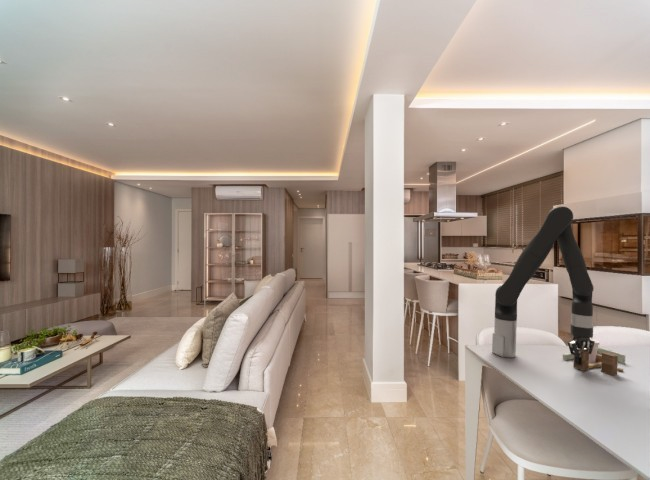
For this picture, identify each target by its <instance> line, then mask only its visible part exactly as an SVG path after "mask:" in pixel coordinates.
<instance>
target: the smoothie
mask: <svg viewBox="0 0 650 480" xmlns="http://www.w3.org/2000/svg"><path fill="white" fill-rule="evenodd" d="M593 337H594V336H593ZM593 337H592V338H590V340H592V341H595V343H594V347H593V350H592V353H591V354H589V364H592V363H596V361H595V360H596V355H597V350H598V347H599V345H600V341H598V340H596V339H593ZM589 349H590V348H589Z"/></svg>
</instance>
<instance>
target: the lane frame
mask: <svg viewBox="0 0 650 480" xmlns="http://www.w3.org/2000/svg"><path fill="white" fill-rule="evenodd" d="M604 352H608V353H611V354H614V355H617V356H618V363H619V364H623V365H625V364H626V355H625V354H623V353H620V352H617V351H612V350H609V349H606V348H603V347H599V346H598V350H597V354H599V355H602V353H604ZM562 360H563V361H567V360H569V361H570V360H574V355H572V354H571V353H570V352H569V353H563V354H562Z"/></svg>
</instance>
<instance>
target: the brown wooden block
mask: <svg viewBox="0 0 650 480" xmlns="http://www.w3.org/2000/svg"><path fill="white" fill-rule="evenodd" d="M618 363H619V362H618V356H617V355H614V354H611V353H608V352H604V353H602V363H601V366H600V367H601V370H600V371H601V372H602V373H604V374H607V375H610V376H617V375H618V372H620V373H623V372H624V368H621V367H619V365H618Z"/></svg>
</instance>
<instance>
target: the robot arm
mask: <svg viewBox="0 0 650 480" xmlns="http://www.w3.org/2000/svg"><path fill="white" fill-rule="evenodd" d="M573 219H574V213H573V211H572V209H570V208H569V207H567V206H562V205H561V206H560V205H559V206H556V207H553V208H552V209H550V210H549V211H548V213H547V215H546V218H545V220H544V222H543V224H542V226H541V228H540V229H539V231H538V232H537V233H536V234H535V236H534V237H533V238H532V239H530V241H529V242H528V243H527V245H526V246H525V247H524V249H523V250H522V252H521V253H520V254H519V256H518V258H517V260H516V261H515V264H514V266H513V268H512V271H511V273H510V274H509V276H508V277H507V279H506V280H505V281H504V282H503V284H502V285H499V286H498V287H497V288H496V290H495V294H494V295H495V297H494V298H495V299H494V301H495V302H494V328H493V331H494V332H493V333H492V339H491V340H492V343H491V346H492V347H491V353H493V354H494V355H497V356H499V357H502V358H516V356H517V327H518V325H517V324H518V299H519V297H520V295H521V293H522V291H523V290H524V288H525V286H526V284H528V282H529V281H530V279H532V277H533V276H534V275H535V274H536V272H538V270H539V268H541V266H542V264H543V263H544V261H545V260H546V259H547V257H548V255H549V254H550V252H551V250H552V248H553V246H554V244H555V242H556V241H557V243H558V246H559V250H560V254H561V257H562V261H563V263H564V266H565V269H566V272H567V273H568V276H569V277H568V278H569V281H570V285H571V289H572V303H571V315H570V334H571V335H572V336H573V338H572V341H568V342H567V345H568V348H569V353H571V354H572V355H574V356H575V364H576V365H579V366H581V362H582V357H581V356H582V352H583V351H584V350H586V351H589V354H591V353H592V350H593V347H594V343H595V341H592V340H590V339H591V338H592V337H594V316H593V314H594V310H593V309H594V307H593V292H594V285H593V282H592V279H591V277H590V275H589V273H588V268H587V264H586V262H585V258H584V255H583V253H582V251H581V249H580V246H579V245H578V243H577V240H576V238H575V236H574V232H573V227H572V222H573ZM577 348H579V349H577ZM589 348H590V349H589ZM578 351H579V354H578Z"/></svg>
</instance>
